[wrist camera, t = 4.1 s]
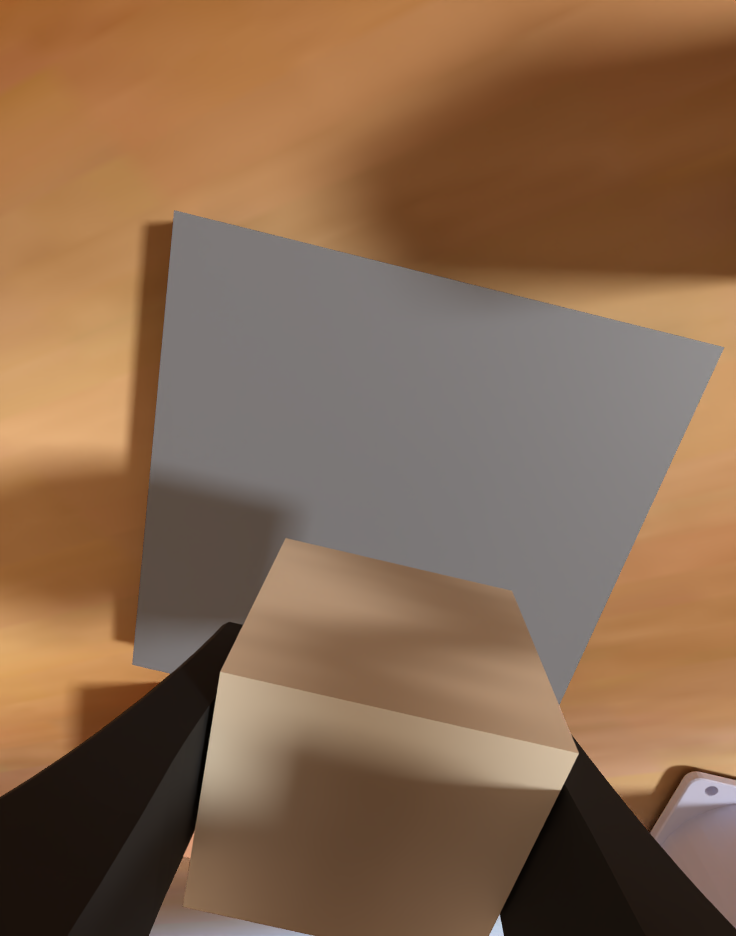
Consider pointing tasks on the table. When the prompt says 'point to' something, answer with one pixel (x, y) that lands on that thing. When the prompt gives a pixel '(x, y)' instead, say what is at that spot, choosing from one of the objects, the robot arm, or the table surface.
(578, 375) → the base board
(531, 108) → the table surface
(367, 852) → the birch block
